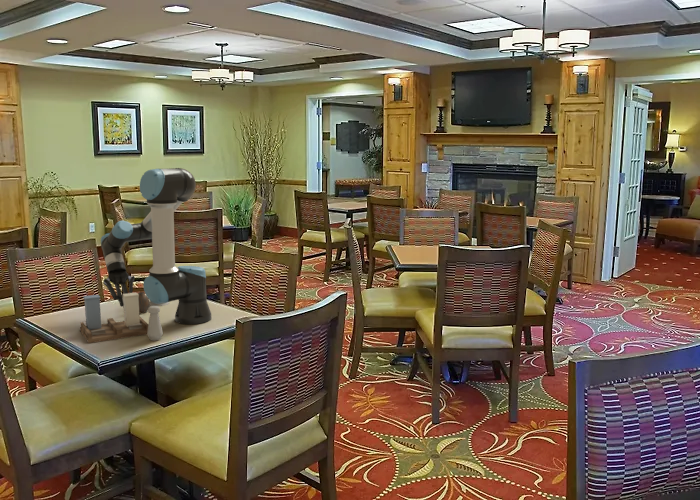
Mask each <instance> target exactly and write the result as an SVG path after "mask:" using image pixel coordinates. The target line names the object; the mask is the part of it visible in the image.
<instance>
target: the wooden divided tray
mask: <svg viewBox="0 0 700 500" xmlns="http://www.w3.org/2000/svg"><path fill="white" fill-rule="evenodd" d="M139 317H140V324H134V325H128V327H127V326H126V325H125V320H123V321H116V320H115V319H114V318H113V317H110V318H107V320H106V322H107V323H101V328H98V329H91V330H88V328H87V327H86V323H85V322H83V321H81V322H80V332H81V334H82V335H83V337H84V338H85V340H86V342H87V343H88V344H92V343H98V342H105V341H113V340H117V339H124V338H130V337H137V336H142V335H143V336H144V335H147V331H148V325H149V323H148V322H147V321H145V320H144V319H143V318H142V317H141V316H140V315H139Z"/></svg>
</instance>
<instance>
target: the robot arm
mask: <svg viewBox="0 0 700 500" xmlns="http://www.w3.org/2000/svg"><path fill="white" fill-rule="evenodd" d="M196 182H197V181H196V178H195V177H194V175H193V174H192V173H191V172H190V171H189V170H187V169H185V168H182V167H175V168H174V167H173V168H172V167H171V168H170V167H169V168H152V169H148V170H147V171H145V172H143V174H142V175H141V178H140V181H139V191H140V193H141V196H142V199H145V200H146V204H147V205H148V206H149V207H150V212H149V213H148V214H147V215H146V217H145V218H144V219H143V220H142V221H141V222H138V223H131V222H129V221H125V220H119V221H118V222H116V223H115V224H114V226H113V227H112V228H111V231H110V232H109V233H105V234H104V235H102V236H101V238H100V247H101V250H102V253H103V258H104V263H105V266H106V270H107V271H106V272H107V274H108V275H107V278H104V279H103V283H102V284H103V285H104V286H105V287H107V290H108V292H109V293H110V295H111V297H112V299H113V300H114V301H116V300H117V301H118V302H119V303H118V304H119V306H120V307H122V310H124V301H123V295H122V294H127V293H134V291H133V290H134V281H135V279H136V278H135V276H134V275H132V276H131V275H129V273H128V271H127V268H126V265H125V260H124V256H123V252H122V248H123V247H124V245H126V243H129V242H136V241H142V240H144V241H145V240H151V246H152V247H151V248H152V267H151V268H150V269H149V270H148V271H149V272H148V275H149V276H147V277H145V279H144V280H143V285H142V286H143V291H144V294H145V295H146V296H147V297H148V299H149V301H151V302H153V303H155V304H161V303H167V302H169V303H171V302H174V301H177V300H178V303H177V307H176V311H175V315H174V321H175V322H176V323H178V324H183V325H199V324H205V323H207V322H210V320H212V311H211V308H210V307H209V304H208V299H207V298H208V297H207V273H206V269H205V268H204V267H200V266H196V265H179V266H176V255H175V253H176V251H175V247H176V246H175V220H174V219H175V217H174V216H175V215H174V213H175V211H177V209H178V208H179V207H180V206H181V205H182V204H183V203H186V202H188V201H189V200H190V199H191V198H192V196H193V195H194V193H195V191H196V187H197V185H196ZM127 281H128V282H129V285H128V288H127V284H126V283H127ZM113 285H114V286H113ZM120 286H121V287H120ZM114 288H115V289H114ZM121 289H122V291H121ZM122 292H123V293H122Z"/></svg>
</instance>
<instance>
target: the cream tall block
mask: <svg viewBox="0 0 700 500" xmlns="http://www.w3.org/2000/svg"><path fill="white" fill-rule="evenodd" d="M121 294H122V297H123V301H124V309H123V313H124V314H123V315H124V316H123V317H124V321H125V325H126V326H127V327H128V325H134V324H140V317H141V316H140V313H139V299H138V297H139V294H138V292H136V291H135V292H133V293H129V292H128V293H127V294H123V293H121ZM139 316H140V317H139Z"/></svg>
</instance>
